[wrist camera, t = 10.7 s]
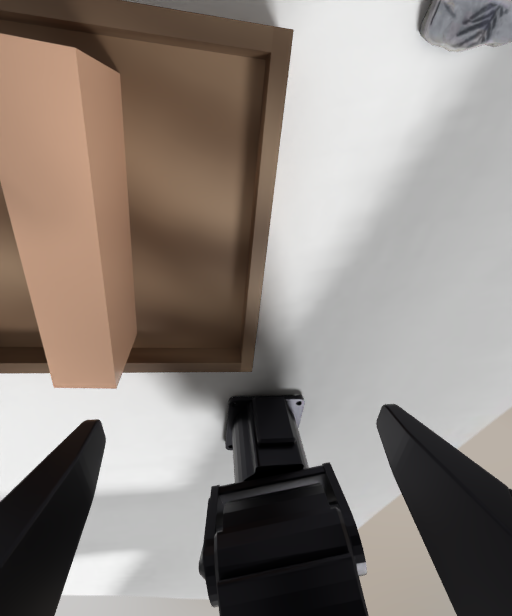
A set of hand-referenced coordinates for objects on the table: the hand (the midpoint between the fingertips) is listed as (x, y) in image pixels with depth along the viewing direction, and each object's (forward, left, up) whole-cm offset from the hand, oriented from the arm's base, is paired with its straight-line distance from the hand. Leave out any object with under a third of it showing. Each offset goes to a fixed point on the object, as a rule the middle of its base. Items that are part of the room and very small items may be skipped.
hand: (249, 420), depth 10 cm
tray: (+3, +7, -12) cm, 14 cm away
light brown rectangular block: (+3, +7, -11) cm, 13 cm away
